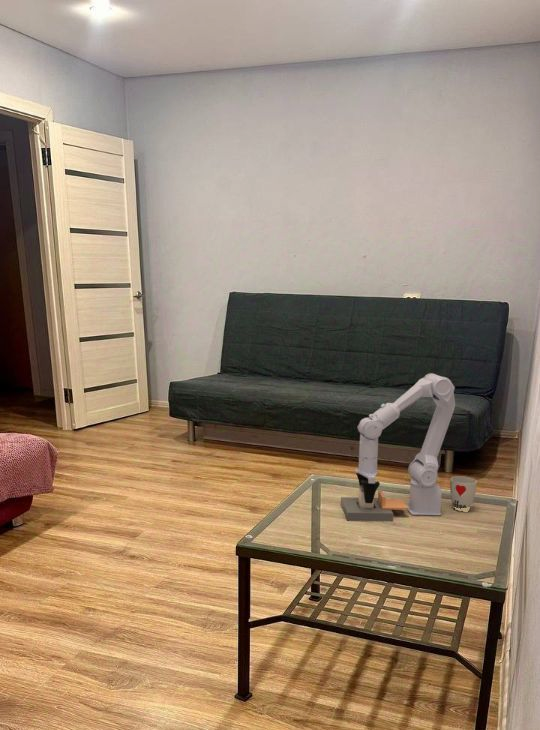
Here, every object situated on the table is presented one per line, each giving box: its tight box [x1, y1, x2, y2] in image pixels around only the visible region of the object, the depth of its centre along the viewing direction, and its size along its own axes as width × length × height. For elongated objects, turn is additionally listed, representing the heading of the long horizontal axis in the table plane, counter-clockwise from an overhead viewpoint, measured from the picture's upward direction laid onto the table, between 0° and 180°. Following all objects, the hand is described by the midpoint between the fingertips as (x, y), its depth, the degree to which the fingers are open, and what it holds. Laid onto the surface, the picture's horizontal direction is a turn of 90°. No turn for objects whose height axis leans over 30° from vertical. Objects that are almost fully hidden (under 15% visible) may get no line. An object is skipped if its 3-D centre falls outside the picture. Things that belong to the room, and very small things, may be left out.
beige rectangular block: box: [358, 485, 374, 508], centre depth 187 cm, size 4×4×8 cm
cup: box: [449, 475, 478, 509], centre depth 192 cm, size 8×8×10 cm
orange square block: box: [377, 490, 408, 511], centre depth 187 cm, size 8×8×4 cm
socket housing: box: [340, 496, 394, 522], centre depth 188 cm, size 14×14×2 cm
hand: (366, 498), depth 187 cm, fingers open, 7 cm apart
